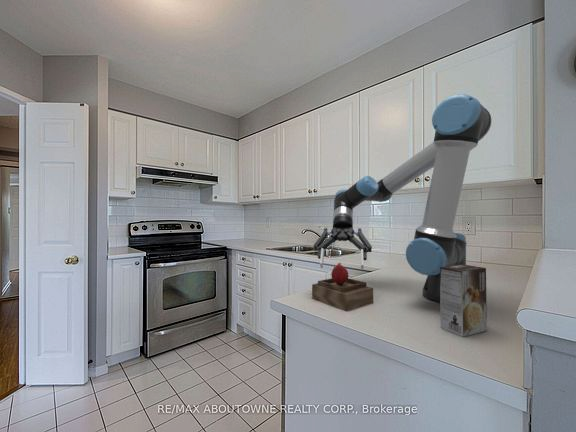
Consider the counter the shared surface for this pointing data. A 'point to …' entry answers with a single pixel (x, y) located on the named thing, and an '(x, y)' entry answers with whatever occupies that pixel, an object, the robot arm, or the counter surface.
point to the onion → (339, 274)
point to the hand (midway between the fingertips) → (341, 266)
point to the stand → (343, 293)
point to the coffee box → (463, 299)
